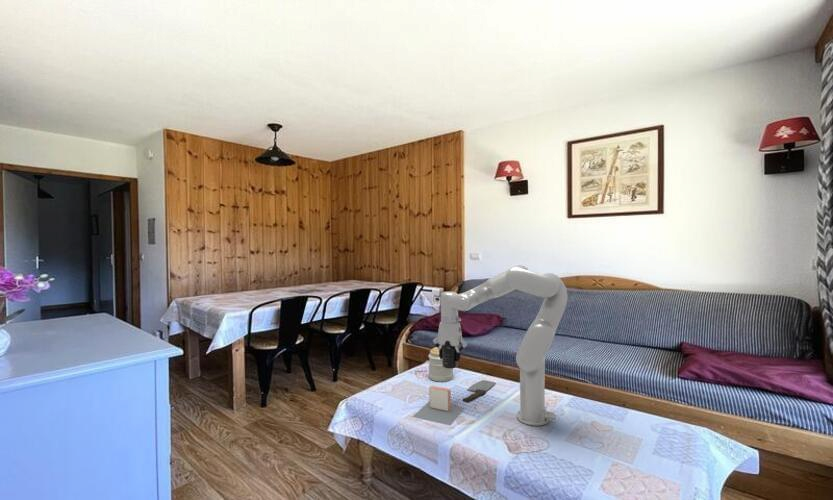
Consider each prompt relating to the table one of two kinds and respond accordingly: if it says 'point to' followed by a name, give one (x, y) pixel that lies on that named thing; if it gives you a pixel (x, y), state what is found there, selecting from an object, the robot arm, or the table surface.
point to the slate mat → (439, 414)
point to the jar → (438, 367)
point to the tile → (440, 398)
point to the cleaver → (479, 390)
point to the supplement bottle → (449, 356)
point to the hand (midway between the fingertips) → (449, 359)
